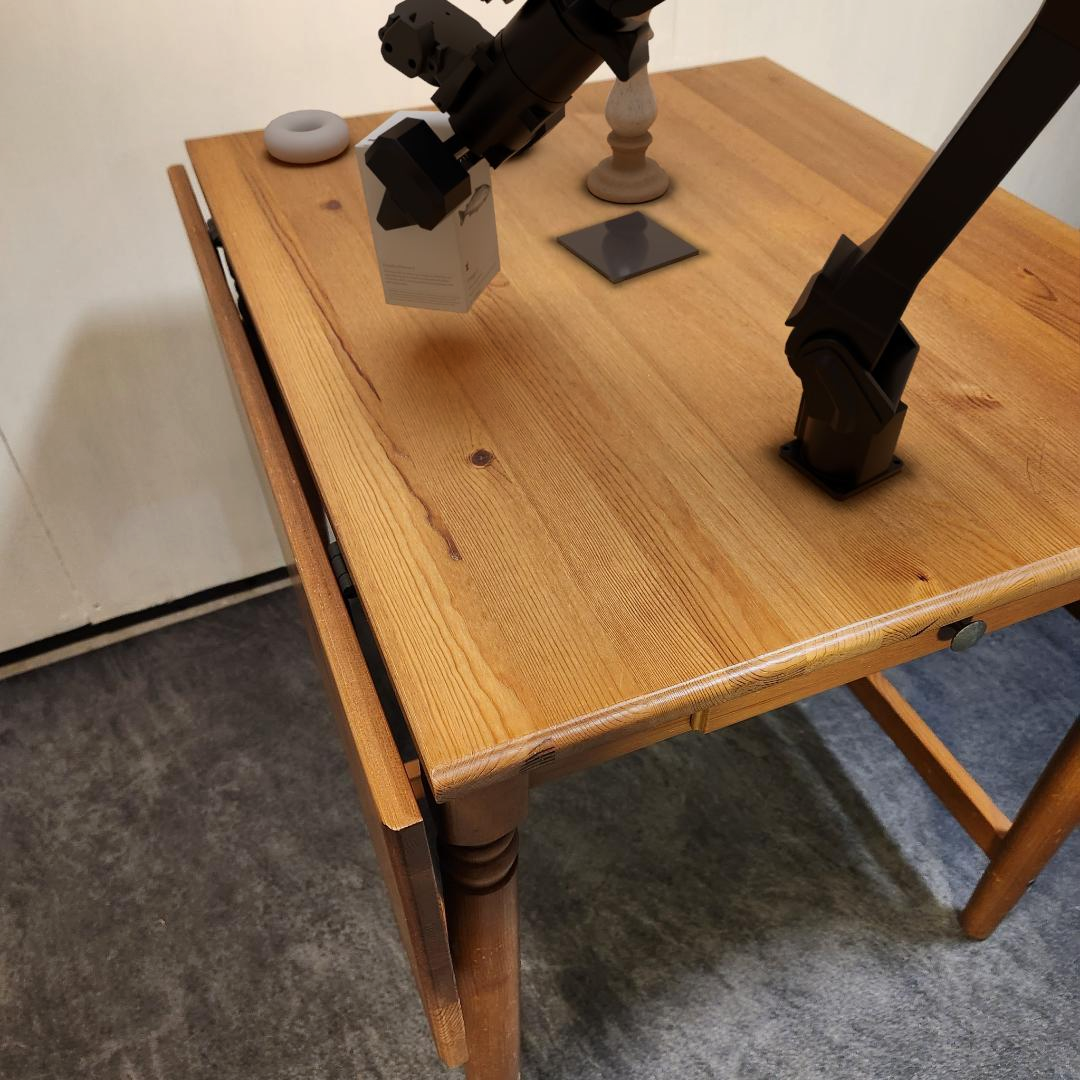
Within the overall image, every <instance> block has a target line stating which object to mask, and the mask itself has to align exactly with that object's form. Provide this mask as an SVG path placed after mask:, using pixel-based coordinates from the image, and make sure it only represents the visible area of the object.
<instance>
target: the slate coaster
mask: <svg viewBox="0 0 1080 1080" xmlns="http://www.w3.org/2000/svg"><path fill="white" fill-rule="evenodd" d="M556 242H558V243H559V244H560V245H561V246H563V247H564V248H566V249H567V250H568V251H569V252H571V253H572V254H574V256H576V257H577V258H578V259H580V260H582V261H583V262H584V263H586V264H588V265H589V267H591V268H593V269H594V270H595V271H597V272H598V273H599V274H601V275H602V276H604V277H605V278H606V279H607V280H609V281H610V282H611V283H613V284H617V283H620V282H622V281H625V280H628V279H632V278H633V277H636V276H637V277H638V276H639V275H642V274H646V273H649V272H651V271H654V270H657V269H660V268H663V267H665V266H668V265H671V264H673V263H676V262H679V261H682V260H684V259H688V258H692V257H693V256H696V255H699V254H700V249H698V248H697V247H695V246H694V245H692V244H690V243H689V242H687V241H686V240H684V239H683V238H681V237H680V236H678V235H676V234H675V233H673V232H672V231H670V230H669V229H667V228H666V227H664V226H662V225H661V224H659V223H658V222H657V221H654V220H653V219H651V218H650V217H649V216H646V214H644V213H642V212H640V211H639V210H637V211H634V212H630V213H628V214H624V215H622V216H618V217H615V218H612V219H609V220H606V221H602V222H600V223H597V224H594V225H591V226H588V227H584V228H582V229H579V230H575V231H572V232H569V233H566V234H562V235H559V236H556Z"/></svg>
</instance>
